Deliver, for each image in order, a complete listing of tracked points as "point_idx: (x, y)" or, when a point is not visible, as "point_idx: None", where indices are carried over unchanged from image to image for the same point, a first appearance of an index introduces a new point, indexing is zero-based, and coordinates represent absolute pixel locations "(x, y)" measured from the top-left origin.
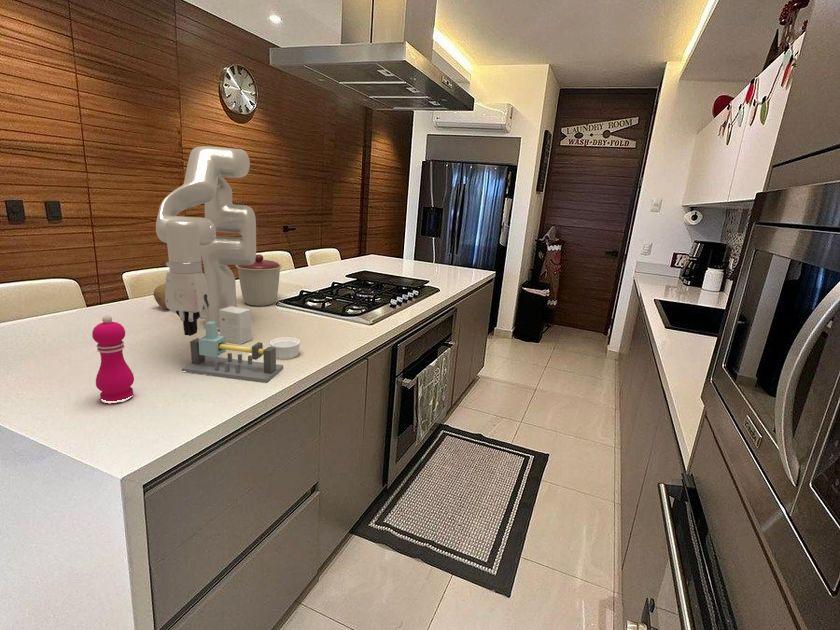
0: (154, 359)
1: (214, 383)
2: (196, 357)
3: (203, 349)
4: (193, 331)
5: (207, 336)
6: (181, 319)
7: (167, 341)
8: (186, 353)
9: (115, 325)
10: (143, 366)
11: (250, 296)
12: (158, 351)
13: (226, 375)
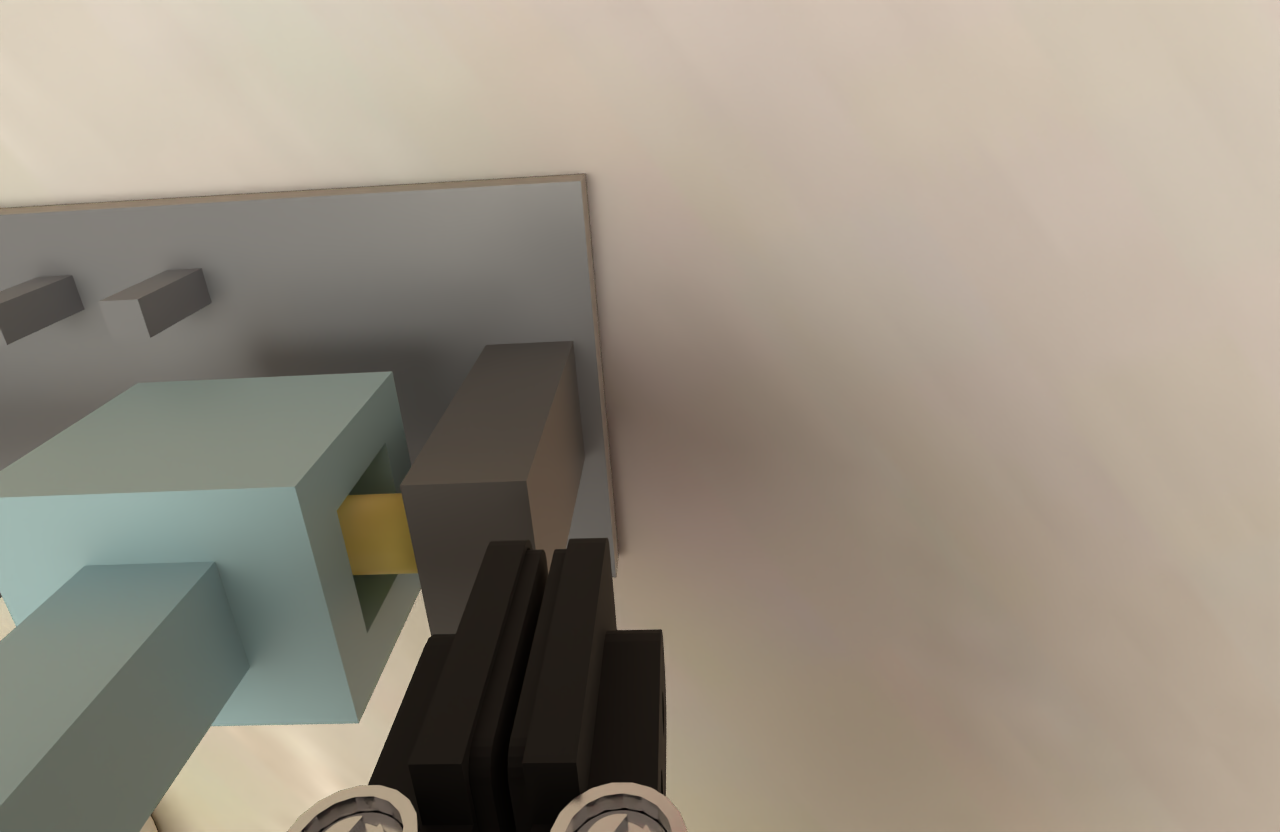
0: (1118, 378)
1: (8, 14)
2: (485, 377)
3: (285, 409)
4: (438, 635)
5: (163, 590)
6: (666, 828)
7: (1253, 789)
8: (883, 609)
9: None
10: (1126, 160)
11: None
12: (1202, 569)
13: (9, 211)
